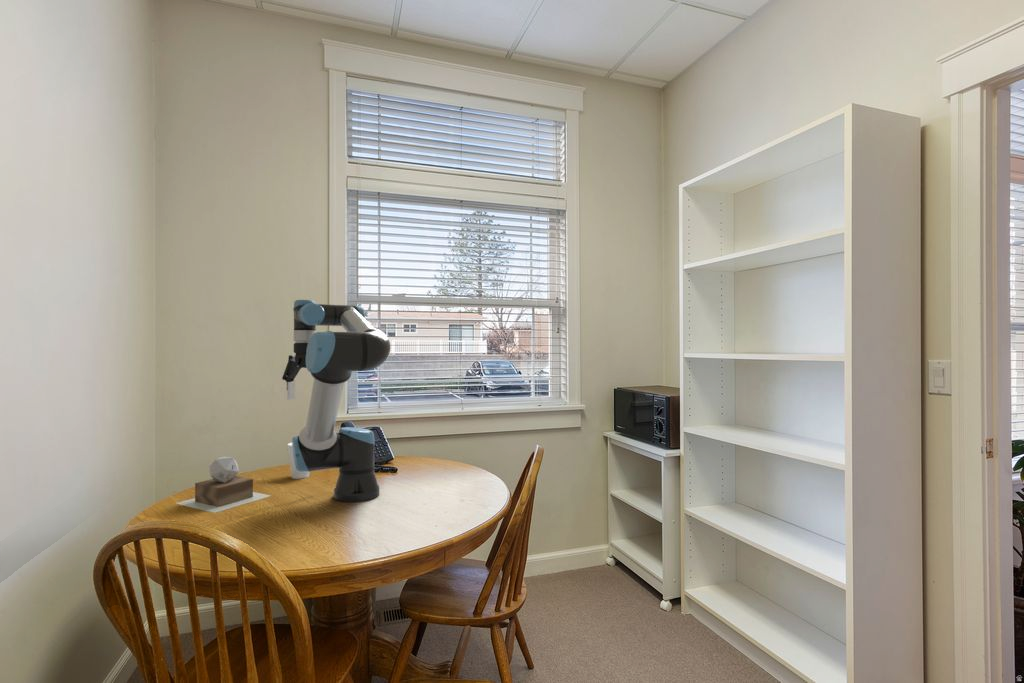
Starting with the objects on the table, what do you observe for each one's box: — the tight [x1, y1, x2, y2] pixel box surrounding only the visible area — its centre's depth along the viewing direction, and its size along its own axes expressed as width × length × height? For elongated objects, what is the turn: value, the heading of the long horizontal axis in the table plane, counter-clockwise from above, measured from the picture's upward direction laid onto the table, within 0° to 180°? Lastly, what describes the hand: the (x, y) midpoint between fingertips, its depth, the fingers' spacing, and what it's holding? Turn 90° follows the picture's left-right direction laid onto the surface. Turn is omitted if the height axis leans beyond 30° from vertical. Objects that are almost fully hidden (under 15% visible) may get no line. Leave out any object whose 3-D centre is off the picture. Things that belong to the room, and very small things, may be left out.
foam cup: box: [287, 442, 310, 480], centre depth 205 cm, size 10×9×13 cm
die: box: [208, 455, 240, 483], centre depth 172 cm, size 8×9×10 cm
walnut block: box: [194, 475, 254, 507], centre depth 172 cm, size 12×12×6 cm
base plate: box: [174, 491, 271, 514], centre depth 172 cm, size 20×20×1 cm
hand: (304, 400), depth 191 cm, fingers open, 13 cm apart
